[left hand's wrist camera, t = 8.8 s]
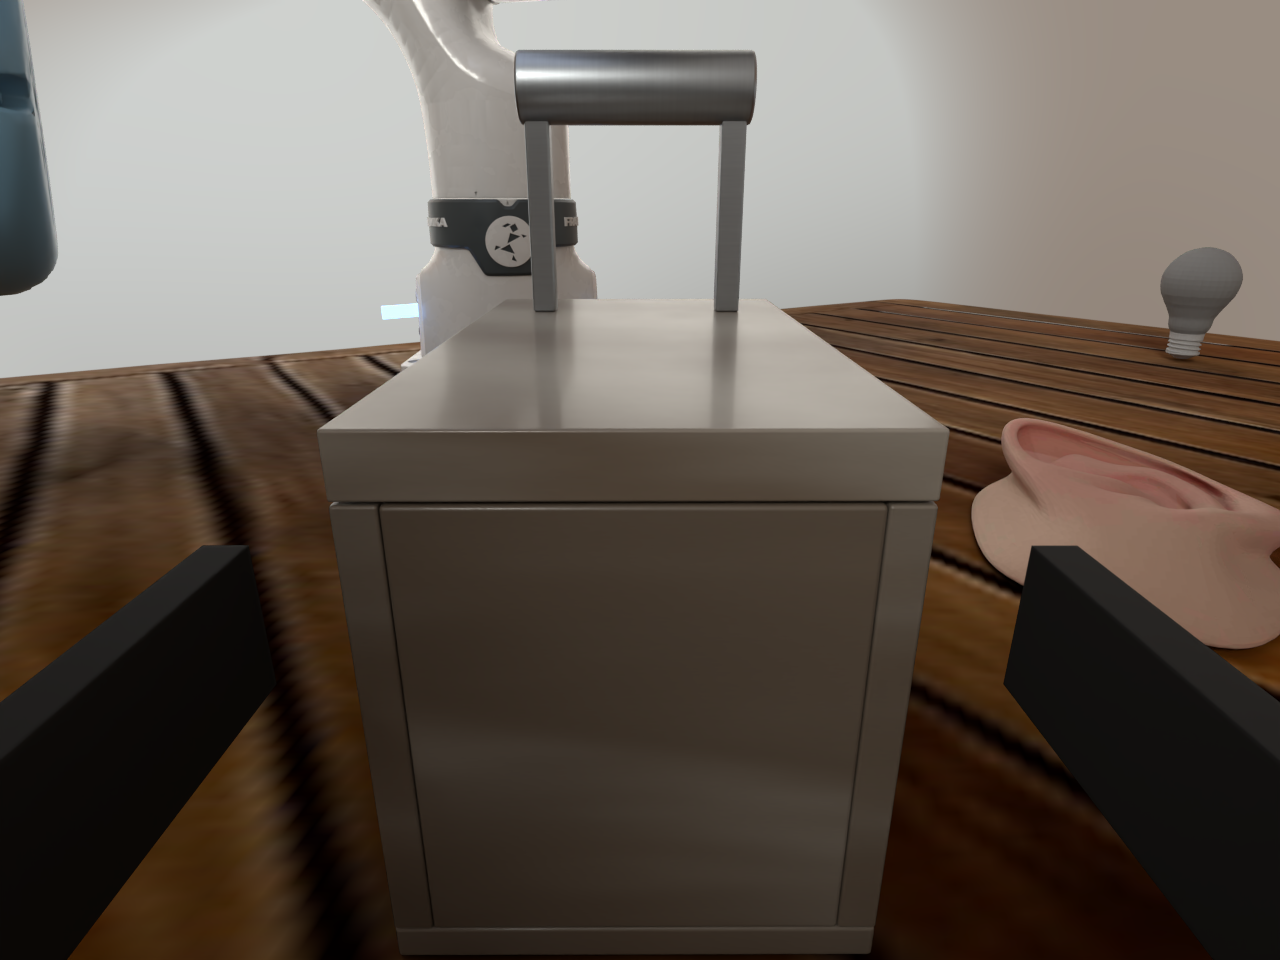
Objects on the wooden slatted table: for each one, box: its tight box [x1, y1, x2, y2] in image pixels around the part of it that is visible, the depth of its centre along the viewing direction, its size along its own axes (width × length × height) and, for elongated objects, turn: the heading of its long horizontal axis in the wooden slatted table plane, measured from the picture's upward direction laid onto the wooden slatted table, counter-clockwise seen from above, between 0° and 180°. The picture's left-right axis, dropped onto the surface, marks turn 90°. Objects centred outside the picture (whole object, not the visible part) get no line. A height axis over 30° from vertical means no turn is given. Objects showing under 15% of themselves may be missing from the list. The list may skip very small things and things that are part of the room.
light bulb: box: [1161, 247, 1243, 359], centre depth 68 cm, size 6×6×10 cm
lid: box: [317, 50, 949, 502], centre depth 17 cm, size 16×9×8 cm, turn 0°
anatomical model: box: [972, 418, 1280, 649], centre depth 30 cm, size 13×4×12 cm
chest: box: [329, 501, 938, 955], centre depth 20 cm, size 16×9×9 cm, turn 0°
